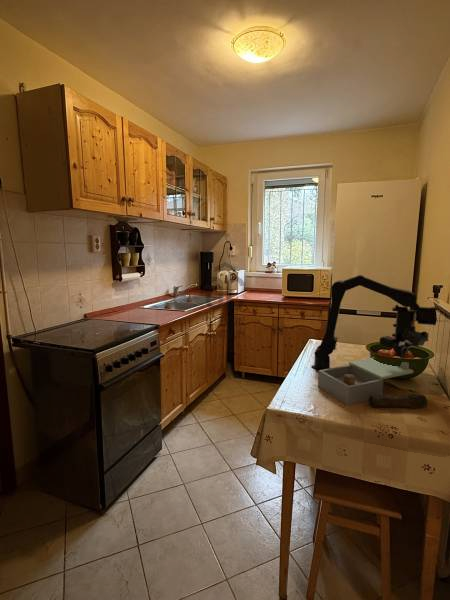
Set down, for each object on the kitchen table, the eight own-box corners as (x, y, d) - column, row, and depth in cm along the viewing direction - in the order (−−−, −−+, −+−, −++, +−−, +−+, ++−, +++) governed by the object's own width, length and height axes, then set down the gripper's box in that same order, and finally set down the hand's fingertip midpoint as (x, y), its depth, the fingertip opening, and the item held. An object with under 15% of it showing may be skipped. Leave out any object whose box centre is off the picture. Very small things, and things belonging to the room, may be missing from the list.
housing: (317, 386, 124) (318, 370, 123) (349, 379, 130) (350, 364, 129) (347, 404, 110) (348, 387, 108) (381, 396, 115) (383, 379, 114)
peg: (340, 389, 121) (341, 375, 120) (348, 388, 122) (349, 373, 121) (348, 394, 117) (349, 379, 116) (356, 392, 119) (357, 377, 118)
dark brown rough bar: (372, 409, 107) (373, 396, 106) (368, 403, 111) (369, 391, 110) (431, 412, 105) (432, 399, 105) (424, 406, 109) (426, 393, 109)
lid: (348, 364, 129) (349, 356, 128) (378, 358, 134) (379, 351, 134) (381, 379, 114) (382, 371, 113) (413, 372, 120) (413, 364, 119)
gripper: (405, 330, 114) (401, 370, 117) (440, 325, 121) (435, 363, 124) (380, 322, 125) (376, 360, 127) (413, 318, 131) (409, 354, 134)
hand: (400, 360), depth 128 cm, fingers closed
